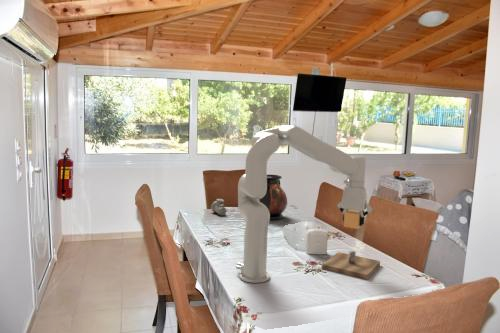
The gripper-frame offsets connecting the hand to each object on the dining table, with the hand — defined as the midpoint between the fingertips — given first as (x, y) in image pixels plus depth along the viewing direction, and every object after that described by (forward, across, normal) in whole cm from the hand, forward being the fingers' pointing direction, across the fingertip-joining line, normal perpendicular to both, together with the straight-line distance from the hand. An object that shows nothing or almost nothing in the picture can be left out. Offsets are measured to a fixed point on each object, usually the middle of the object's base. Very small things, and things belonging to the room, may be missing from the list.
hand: (353, 223), depth 175 cm
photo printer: (+20, -20, +7) cm, 29 cm away
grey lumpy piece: (+20, -105, +40) cm, 114 cm away
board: (+20, 0, 0) cm, 20 cm away
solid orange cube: (+1, 0, 0) cm, 1 cm away
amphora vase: (+20, -73, +54) cm, 93 cm away
